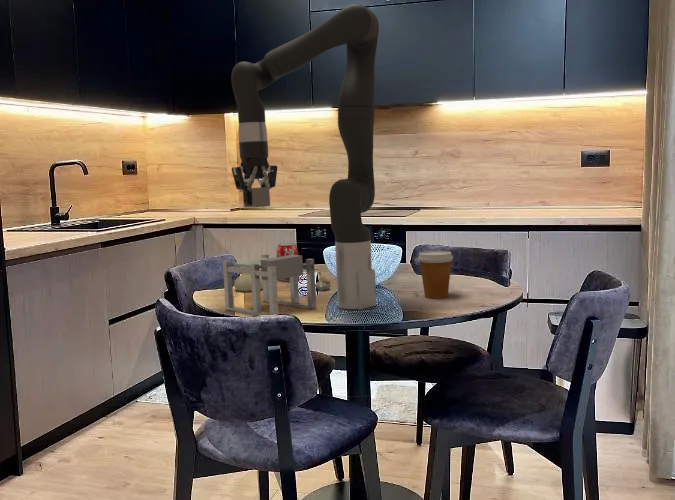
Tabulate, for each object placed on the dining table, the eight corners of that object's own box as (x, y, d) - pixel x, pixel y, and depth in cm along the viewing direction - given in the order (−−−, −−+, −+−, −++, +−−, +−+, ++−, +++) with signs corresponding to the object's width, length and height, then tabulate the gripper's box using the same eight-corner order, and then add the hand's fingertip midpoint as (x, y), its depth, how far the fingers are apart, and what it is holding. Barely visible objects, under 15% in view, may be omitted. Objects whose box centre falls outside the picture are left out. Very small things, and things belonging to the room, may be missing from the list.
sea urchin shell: (267, 280, 212) (263, 265, 206) (265, 301, 207) (260, 286, 201) (239, 280, 213) (233, 265, 207) (235, 301, 208) (230, 287, 202)
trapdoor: (303, 274, 175) (302, 255, 175) (272, 281, 168) (271, 261, 167) (265, 270, 186) (264, 252, 185) (234, 275, 178) (232, 257, 178)
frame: (316, 308, 176) (314, 259, 175) (274, 319, 166) (271, 266, 164) (267, 300, 190) (265, 254, 188) (225, 309, 179) (222, 261, 178)
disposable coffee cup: (440, 301, 179) (439, 256, 178) (411, 297, 186) (410, 253, 184) (460, 295, 186) (460, 251, 184) (432, 291, 192) (431, 249, 191)
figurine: (317, 287, 205) (316, 268, 204) (331, 287, 205) (331, 268, 203) (314, 293, 200) (313, 274, 199) (328, 293, 200) (328, 274, 198)
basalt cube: (270, 205, 181) (269, 187, 180) (255, 207, 177) (254, 188, 177) (258, 205, 184) (257, 187, 184) (243, 207, 181) (242, 188, 180)
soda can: (303, 278, 223) (301, 242, 221) (291, 282, 217) (289, 245, 215) (285, 277, 226) (284, 242, 225) (273, 281, 220) (271, 244, 219)
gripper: (239, 139, 171) (244, 207, 173) (283, 139, 181) (286, 203, 183) (222, 141, 176) (226, 207, 178) (265, 141, 186) (269, 203, 188)
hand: (257, 204), depth 181 cm, fingers closed on basalt cube, 5 cm apart
